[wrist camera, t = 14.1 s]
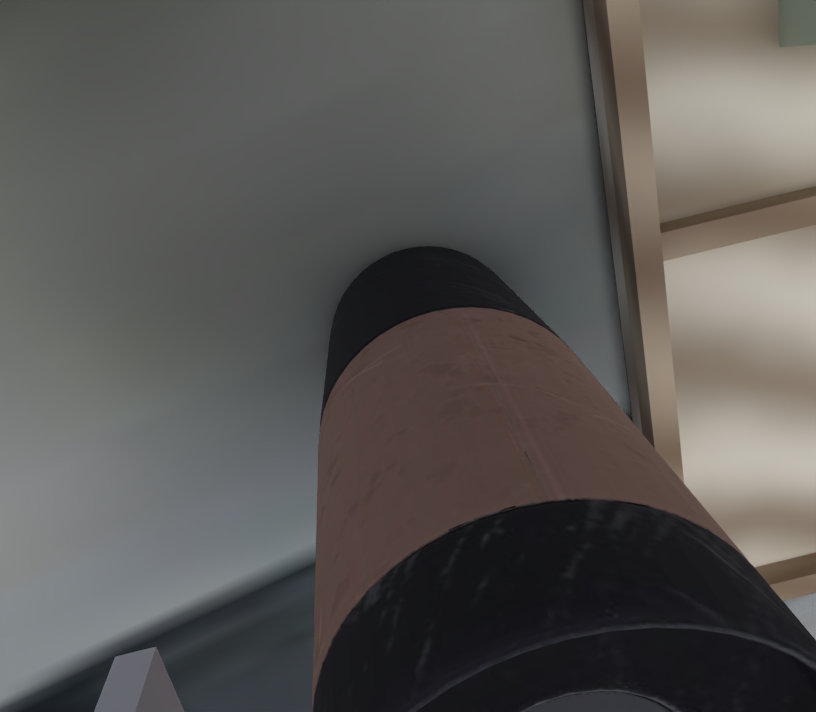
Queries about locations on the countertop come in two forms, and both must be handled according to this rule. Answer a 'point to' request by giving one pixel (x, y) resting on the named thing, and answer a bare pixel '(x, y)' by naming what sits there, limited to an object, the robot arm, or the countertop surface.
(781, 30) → the green block
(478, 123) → the countertop surface
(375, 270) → the travel mug
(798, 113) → the two-bay tray
